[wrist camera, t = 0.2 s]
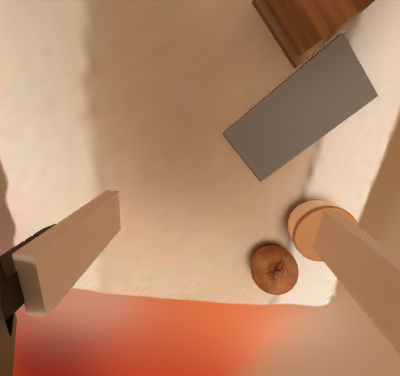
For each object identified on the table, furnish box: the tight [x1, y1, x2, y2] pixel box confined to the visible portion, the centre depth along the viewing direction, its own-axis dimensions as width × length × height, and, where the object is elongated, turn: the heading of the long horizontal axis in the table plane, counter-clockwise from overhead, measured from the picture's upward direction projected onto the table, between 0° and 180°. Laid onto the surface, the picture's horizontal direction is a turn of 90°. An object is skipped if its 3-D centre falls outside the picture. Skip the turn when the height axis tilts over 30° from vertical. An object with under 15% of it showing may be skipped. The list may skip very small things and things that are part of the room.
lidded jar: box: [288, 200, 358, 261], centre depth 38 cm, size 11×11×9 cm
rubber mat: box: [223, 33, 378, 182], centre depth 37 cm, size 24×12×1 cm, turn 130°
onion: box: [250, 245, 298, 295], centre depth 42 cm, size 10×9×10 cm
